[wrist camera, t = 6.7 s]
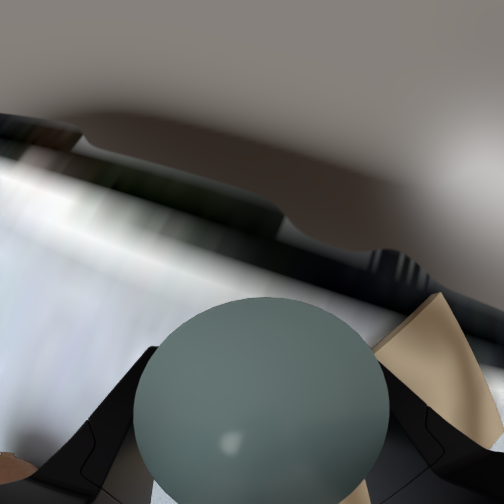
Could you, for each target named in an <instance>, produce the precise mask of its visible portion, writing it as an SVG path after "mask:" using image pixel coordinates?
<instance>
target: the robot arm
mask: <svg viewBox="0 0 504 504" xmlns="http://www.w3.org/2000/svg"><path fill="white" fill-rule="evenodd" d="M158 347H159V346H150V347H149V348H148V349H147V350H146V351H145V352H144V353H143V355H142V356H141V357H140V358H139V359H138V360H137V362H136V363H135V364H134V365H133V366H132V367H131V369H130V370H129V371H128V372H127V373H126V374H125V376H124V377H123V378H122V379H121V380H120V381H119V383H118V384H117V385H116V386H115V387H114V388H113V390H112V391H111V392H110V393H109V394H108V396H107V397H106V398H105V399H104V400H103V401H102V403H101V404H100V405H99V406H98V407H97V409H96V410H95V411H94V412H93V413H92V414H91V416H90V417H89V418H88V420H89V421H88V420H86V421H85V423H84V424H83V425H82V426H81V427H80V429H79V430H78V431H77V432H76V433H75V434H74V435H73V436H72V438H71V439H70V440H69V441H68V442H67V443H66V444H65V445H64V446H63V447H62V448H61V449H59V450H58V451H57V452H56V453H55V454H54V455H53V456H52V457H51V458H50V459H49V460H48V461H47V462H45V463H44V464H43V465H42V466H41V467H40V468H39V469H38V470H37V471H35V472H34V473H33V474H31V475H30V476H28V477H26V478H24V479H21V480H17V481H13V482H9V483H4V484H0V504H150V503H151V495H152V488H153V481H154V478H153V477H152V475H151V473H150V472H149V470H148V469H147V467H146V465H145V463H144V461H143V459H142V456H141V454H140V452H139V448H138V445H137V441H136V438H135V431H134V423H133V417H134V402H135V396H136V391H137V387H138V384H139V381H140V378H141V375H142V373H143V371H144V369H145V367H146V365H147V363H148V361H149V360H150V358H151V357H152V355H153V354H154V353H155V351H156V350H157V348H158ZM378 363H379V365H380V367H381V369H382V371H383V374H384V378H385V381H386V384H387V389H388V396H389V422H388V429H387V433H386V437H385V441H384V444H383V447H382V449H381V452H380V454H379V456H378V458H377V460H376V462H375V464H374V465H373V467H372V469H371V471H370V472H369V473H368V475H367V476H366V477H365V481H366V486H367V490H368V494H369V498H370V502H371V504H504V452H495V451H491V450H488V449H486V448H484V447H482V446H480V445H479V444H478V443H476V442H475V441H473V440H472V439H470V438H469V437H468V436H466V435H465V434H463V433H462V432H461V431H459V430H458V429H457V428H455V427H454V426H453V425H451V424H450V423H449V422H447V421H446V420H445V419H444V418H442V417H441V416H440V415H439V414H438V413H437V412H435V411H434V410H433V409H432V408H431V407H430V406H427V404H426V403H425V402H424V401H423V400H422V399H421V398H420V397H419V396H418V395H416V394H415V393H414V392H413V391H412V390H411V389H410V388H409V387H407V386H406V385H405V384H404V383H403V382H402V381H401V380H400V379H399V378H397V377H396V376H395V375H394V374H393V373H392V372H391V371H390V370H389V369H387V368H386V367H385V366H384V365H383V364H382V363H381V362H380V361H378Z"/></svg>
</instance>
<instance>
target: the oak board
mask: <svg viewBox="0 0 504 504" xmlns="http://www.w3.org/2000/svg"><path fill="white" fill-rule="evenodd" d="M371 350H372V352H373V353H374V355H375V357H376V358H377V360H378V361H380V362H381V363H382V364H383V365H384V366H385V367H386V368H387V369H389V370H390V371H391V372H392V373H393V374H394V375H395V376H396V377H397V378H399V379H400V380H401V381H402V382H403V383H404V384H405V385H406V386H407V387H409V388H410V389H411V390H412V391H413V392H414V393H415V394H416V395H418V396H419V397H420V398H421V399H422V400H423V401H424V402H425V403H426V404H427V406H430V407H431V408H432V409H433V410H434V411H435V412H437V413H438V414H439V415H440V416H441V417H442V418H444V419H445V420H446V421H447V422H449V423H450V424H451V425H453V426H454V427H455V428H457V429H458V430H459V431H461V432H462V433H463V434H465V435H466V436H468V437H469V438H470V439H472V440H473V441H475V442H476V443H478V444H479V445H480V446H482V447H484V448H486V449H488V450H489V449H490V448H491V447H492V446H493V445H494V443H495V442H496V441H497V440H498V438H499V437H500V436H501V435H502V433H503V432H504V427H503V424H502V421H501V418H500V416H499V413H498V410H497V408H496V405H495V402H494V400H493V397H492V395H491V392H490V390H489V388H488V385H487V383H486V381H485V378H484V376H483V374H482V371H481V369H480V367H479V365H478V363H477V360H476V358H475V356H474V354H473V352H472V350H471V348H470V346H469V344H468V342H467V340H466V338H465V336H464V334H463V332H462V330H461V328H460V326H459V324H458V322H457V320H456V318H455V317H454V315H453V313H452V311H451V309H450V307H449V306H448V304H447V302H446V300H445V298H444V297H443V295H442V293H441V292H439V293H436V294H432V295H430V296H429V297H428V298H427V299H426V300H425V301H424V302H423V303H422V304H421V305H420V306H419V307H418V308H417V309H416V310H415V311H414V312H413V313H412V314H411V315H410V316H409V317H407V318H406V319H405V320H404V321H403V322H402V323H401V324H400V325H399V326H398V327H396V328H395V329H394V330H393V331H392V332H391V333H390V334H388V335H387V336H386V337H385V338H384V339H383V340H381V341H380V342H379V343H378V344H377V345H376V346H374V347H373V348H372V349H371ZM339 504H371V502H370V498H369V494H368V490H367V486H366V481H365V479H364V480H363V481H362V483H361V484H360V485H359V486H358V487H357V488H356V489H355V490H354V491H353V492H352V493H351V494H350V495H349V496H347V497H346V498H345V499H344V500H342V501H341V502H340V503H339Z"/></svg>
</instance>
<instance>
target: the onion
mask: <svg viewBox="0 0 504 504" xmlns="http://www.w3.org/2000/svg"><path fill="white" fill-rule="evenodd" d="M0 453H1V455H0V484H4V483H9V482H13V481H17V480H21V479H24V478H26V477H28V476H30V475H31V474H33V473H34V472H35V471H37V470H38V468H39V467H38V468H36V467H35V466H34V465H33V464H32V463H31V462H26V461H24V460H22V459H19V458H16V457H15V456H14V453H9V452H0Z"/></svg>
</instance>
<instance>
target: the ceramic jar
mask: <svg viewBox="0 0 504 504" xmlns="http://www.w3.org/2000/svg"><path fill="white" fill-rule="evenodd" d="M388 422H389V396H388V389H387V384H386V381H385V378H384V374H383V371H382V369H381V367H380V365H379V363H378V360H377V358H376V357H375V355H374V353H373V352H372V350H371V349H370V347H369V346H368V344H367V343H366V342H365V341H364V340H363V339H362V338H361V336H360V335H359V334H358V333H357V332H356V331H355V330H353V329H352V328H351V327H350V326H349V325H348V324H346V323H345V322H344V321H342V320H341V319H339V318H338V317H336V316H334V315H333V314H331V313H329V312H327V311H325V310H323V309H321V308H319V307H316V306H313V305H310V304H307V303H304V302H301V301H296V300H290V299H285V298H271V297H261V298H247V299H242V300H237V301H231V302H228V303H225V304H222V305H219V306H215V307H213V308H211V309H208V310H206V311H204V312H202V313H200V314H198V315H196V316H195V317H193V318H191V319H190V320H188V321H187V322H185V323H183V324H182V325H181V326H180V327H178V328H177V329H176V330H175V331H174V332H172V333H171V334H170V335H169V336H168V337H167V338H166V339H165V340H164V341H163V343H162V344H161V345H160V346H159V347H158V348H157V350H156V351H155V353H154V354H153V355H152V357H151V358H150V360H149V361H148V363H147V365H146V367H145V369H144V371H143V373H142V375H141V378H140V381H139V384H138V387H137V391H136V396H135V402H134V417H133V423H134V431H135V438H136V441H137V445H138V448H139V452H140V454H141V456H142V459H143V461H144V463H145V465H146V467H147V469H148V470H149V472H150V473H151V475H152V477H153V478H154V480H155V481H156V482H157V483H158V484H159V486H160V487H161V488H162V489H163V490H164V491H165V492H166V493H167V494H168V495H169V496H170V497H171V498H172V499H173V500H175V501H176V502H177V503H178V504H339V503H340V502H341V501H342V500H344V499H345V498H346V497H347V496H349V495H350V494H351V493H352V492H353V491H354V490H355V489H356V488H357V487H358V486H359V485H360V484H361V483H362V481H363V480H364V479H365V477H366V476H367V475H368V473H369V472H370V471H371V469H372V467H373V465H374V464H375V462H376V460H377V458H378V456H379V454H380V452H381V449H382V447H383V444H384V441H385V437H386V433H387V429H388Z"/></svg>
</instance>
